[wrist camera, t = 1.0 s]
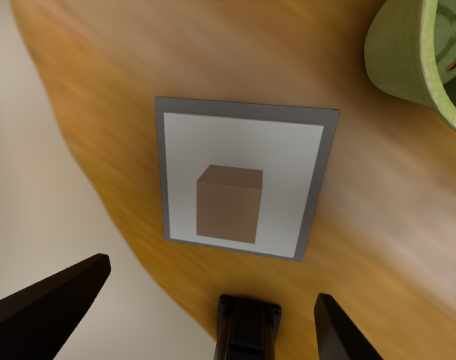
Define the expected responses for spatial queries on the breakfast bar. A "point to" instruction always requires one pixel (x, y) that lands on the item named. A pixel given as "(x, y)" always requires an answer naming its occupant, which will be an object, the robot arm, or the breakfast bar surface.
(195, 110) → the mat
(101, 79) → the breakfast bar surface
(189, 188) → the lid
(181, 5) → the breakfast bar surface
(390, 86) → the plant pot
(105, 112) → the breakfast bar surface
